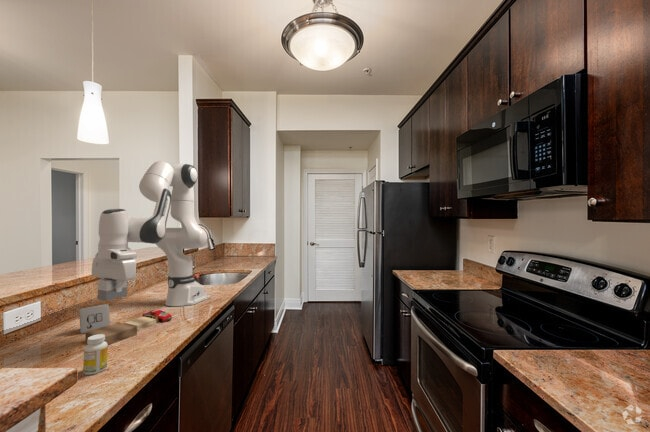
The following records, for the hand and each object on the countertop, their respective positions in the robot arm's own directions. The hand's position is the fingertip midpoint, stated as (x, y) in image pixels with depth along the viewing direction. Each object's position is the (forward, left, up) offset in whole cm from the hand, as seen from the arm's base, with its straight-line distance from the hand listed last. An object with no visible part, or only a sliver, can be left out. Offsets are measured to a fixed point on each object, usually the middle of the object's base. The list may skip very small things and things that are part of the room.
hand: (112, 290), depth 105 cm
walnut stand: (0, 0, -17) cm, 17 cm away
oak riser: (-12, -2, -17) cm, 21 cm away
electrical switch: (-2, -15, -17) cm, 23 cm away
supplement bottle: (+16, +20, -17) cm, 31 cm away
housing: (0, 0, -3) cm, 3 cm away
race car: (-20, -3, -18) cm, 27 cm away
